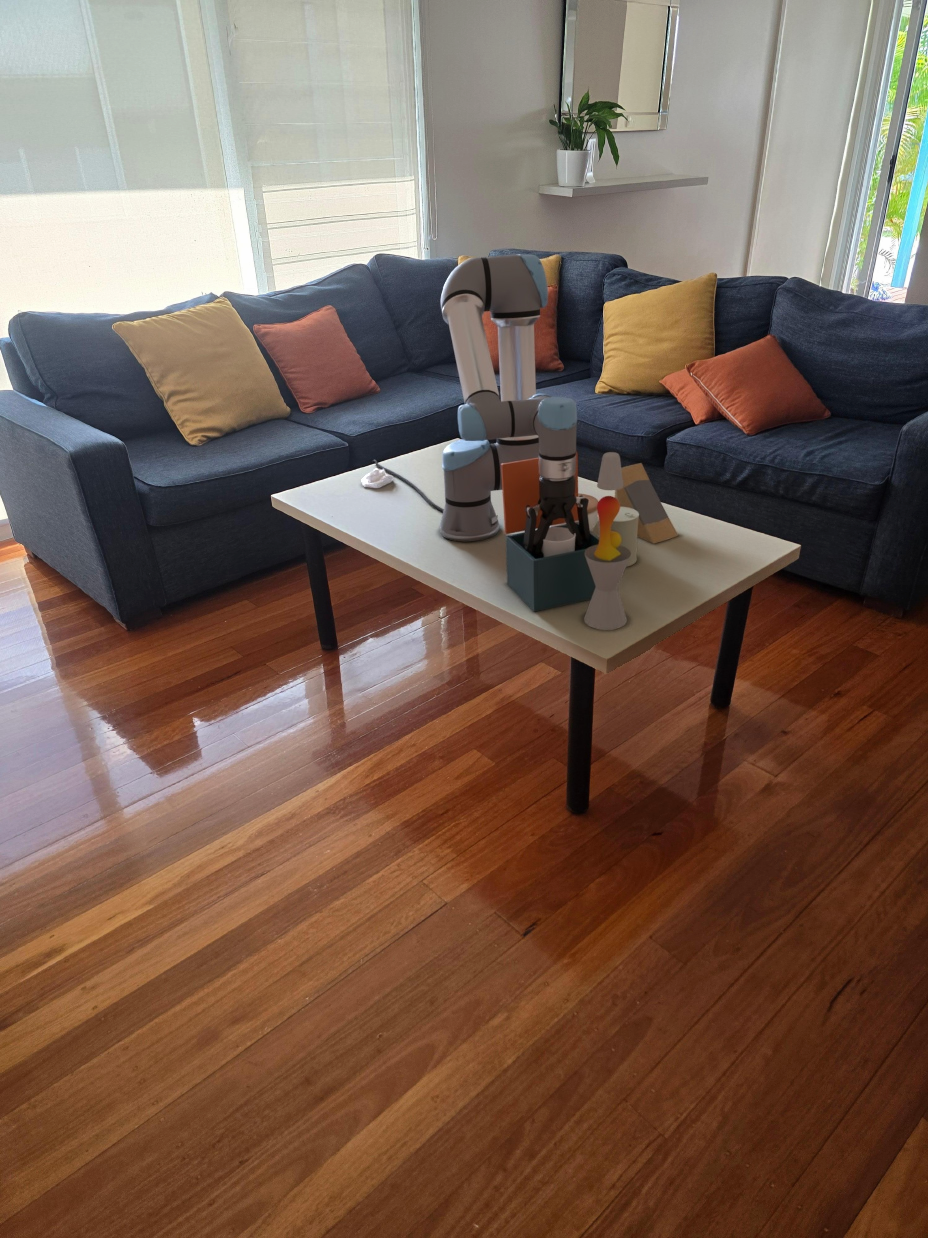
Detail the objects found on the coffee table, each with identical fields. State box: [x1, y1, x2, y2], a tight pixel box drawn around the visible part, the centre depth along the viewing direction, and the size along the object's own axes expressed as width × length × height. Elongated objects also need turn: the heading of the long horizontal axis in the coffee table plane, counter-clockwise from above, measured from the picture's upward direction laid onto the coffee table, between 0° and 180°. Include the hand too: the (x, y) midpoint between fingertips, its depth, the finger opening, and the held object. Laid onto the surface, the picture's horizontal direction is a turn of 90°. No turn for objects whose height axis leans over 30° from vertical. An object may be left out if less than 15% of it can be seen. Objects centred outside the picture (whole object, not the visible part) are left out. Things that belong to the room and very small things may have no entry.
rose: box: [360, 468, 394, 489], centre depth 250 cm, size 10×4×10 cm
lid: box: [501, 451, 579, 535], centre depth 181 cm, size 15×18×1 cm
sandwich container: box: [614, 462, 679, 544], centre depth 206 cm, size 9×15×15 cm, turn 31°
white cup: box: [541, 527, 576, 557], centre depth 180 cm, size 8×8×10 cm
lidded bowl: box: [550, 492, 599, 532], centre depth 206 cm, size 13×13×11 cm
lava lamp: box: [583, 451, 631, 631], centre depth 162 cm, size 9×9×35 cm
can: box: [597, 507, 639, 568], centre depth 193 cm, size 9×9×12 cm
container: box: [505, 522, 599, 613], centre depth 181 cm, size 15×18×12 cm
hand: (556, 575), depth 182 cm, fingers closed on white cup, 8 cm apart
